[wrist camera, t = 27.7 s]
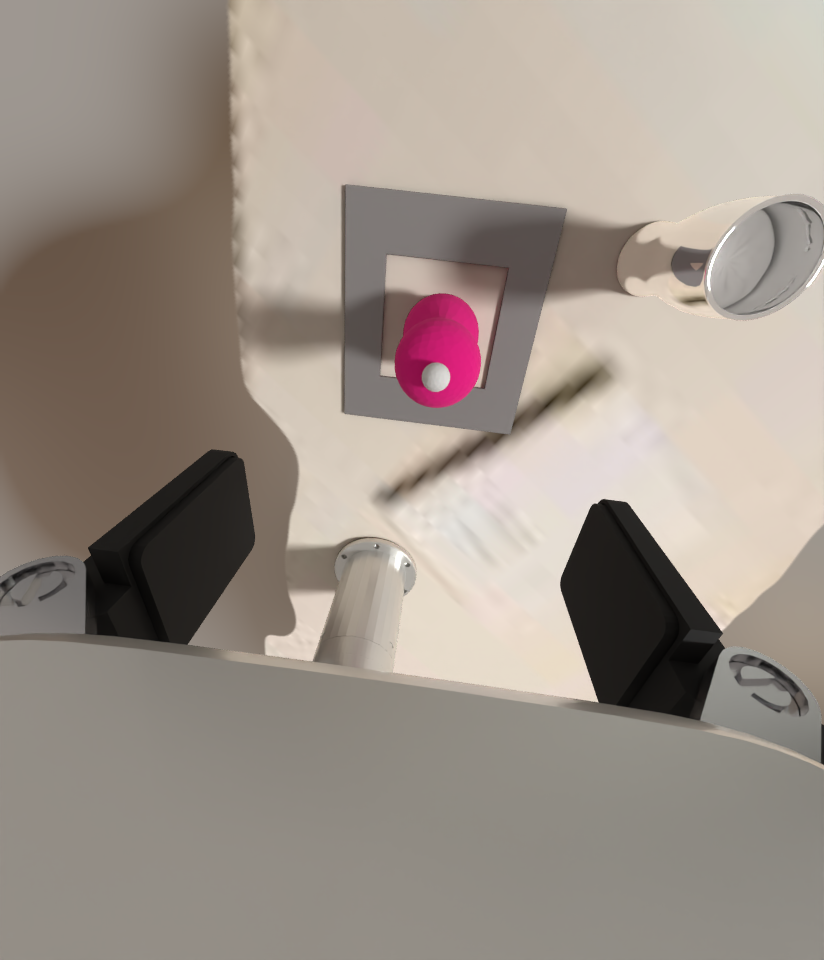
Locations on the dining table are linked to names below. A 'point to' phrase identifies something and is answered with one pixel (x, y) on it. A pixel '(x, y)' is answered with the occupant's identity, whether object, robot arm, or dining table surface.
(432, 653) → the dining table surface
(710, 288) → the beer glass
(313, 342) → the dining table surface
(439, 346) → the pepper mill
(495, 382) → the letter o mat
